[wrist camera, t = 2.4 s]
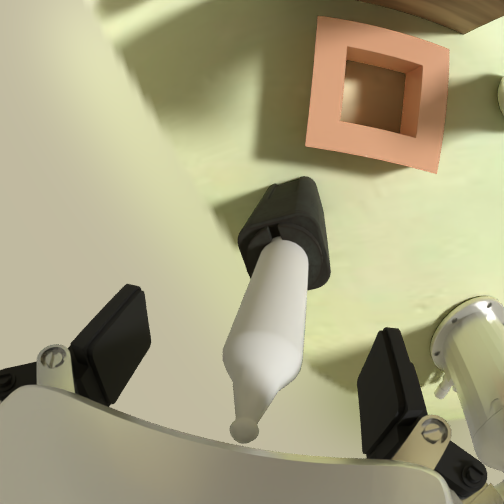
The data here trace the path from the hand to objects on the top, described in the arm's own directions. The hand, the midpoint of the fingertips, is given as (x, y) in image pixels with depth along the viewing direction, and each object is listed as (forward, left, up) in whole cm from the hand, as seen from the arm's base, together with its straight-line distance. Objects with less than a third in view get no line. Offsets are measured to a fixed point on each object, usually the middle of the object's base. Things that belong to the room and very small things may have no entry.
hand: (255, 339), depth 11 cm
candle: (0, 0, -21) cm, 21 cm away
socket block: (+12, -6, -21) cm, 25 cm away
